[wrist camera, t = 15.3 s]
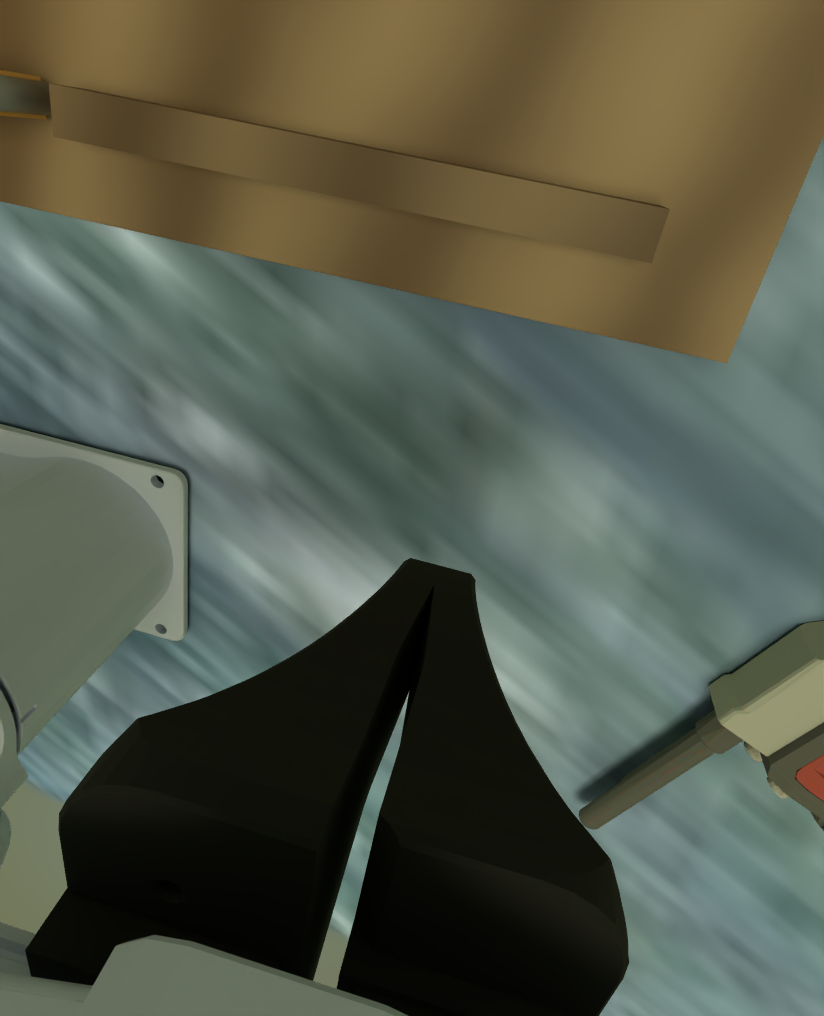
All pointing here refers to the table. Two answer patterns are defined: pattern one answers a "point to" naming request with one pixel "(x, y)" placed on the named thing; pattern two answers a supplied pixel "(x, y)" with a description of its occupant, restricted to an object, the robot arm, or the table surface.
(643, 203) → the cradle
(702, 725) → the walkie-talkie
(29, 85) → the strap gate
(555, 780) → the table surface
